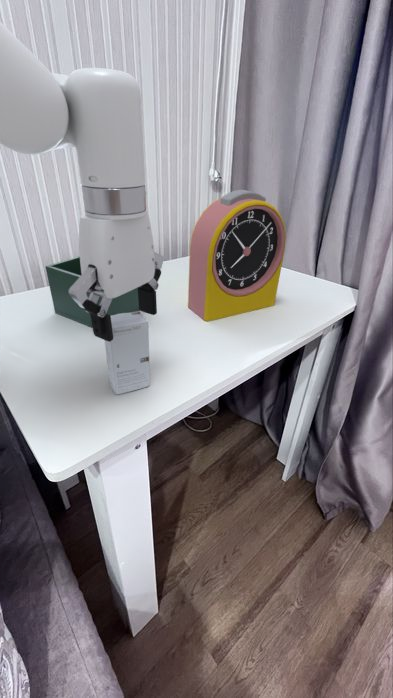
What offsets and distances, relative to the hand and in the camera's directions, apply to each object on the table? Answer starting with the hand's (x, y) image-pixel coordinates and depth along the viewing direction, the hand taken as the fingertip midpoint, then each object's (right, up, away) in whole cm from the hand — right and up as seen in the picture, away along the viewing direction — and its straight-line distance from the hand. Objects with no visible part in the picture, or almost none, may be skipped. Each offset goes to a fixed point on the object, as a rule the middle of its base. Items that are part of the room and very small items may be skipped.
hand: (127, 324), depth 50 cm
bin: (-12, +6, +29) cm, 31 cm away
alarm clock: (+19, +7, +34) cm, 39 cm away
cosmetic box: (-1, -10, +6) cm, 11 cm away
